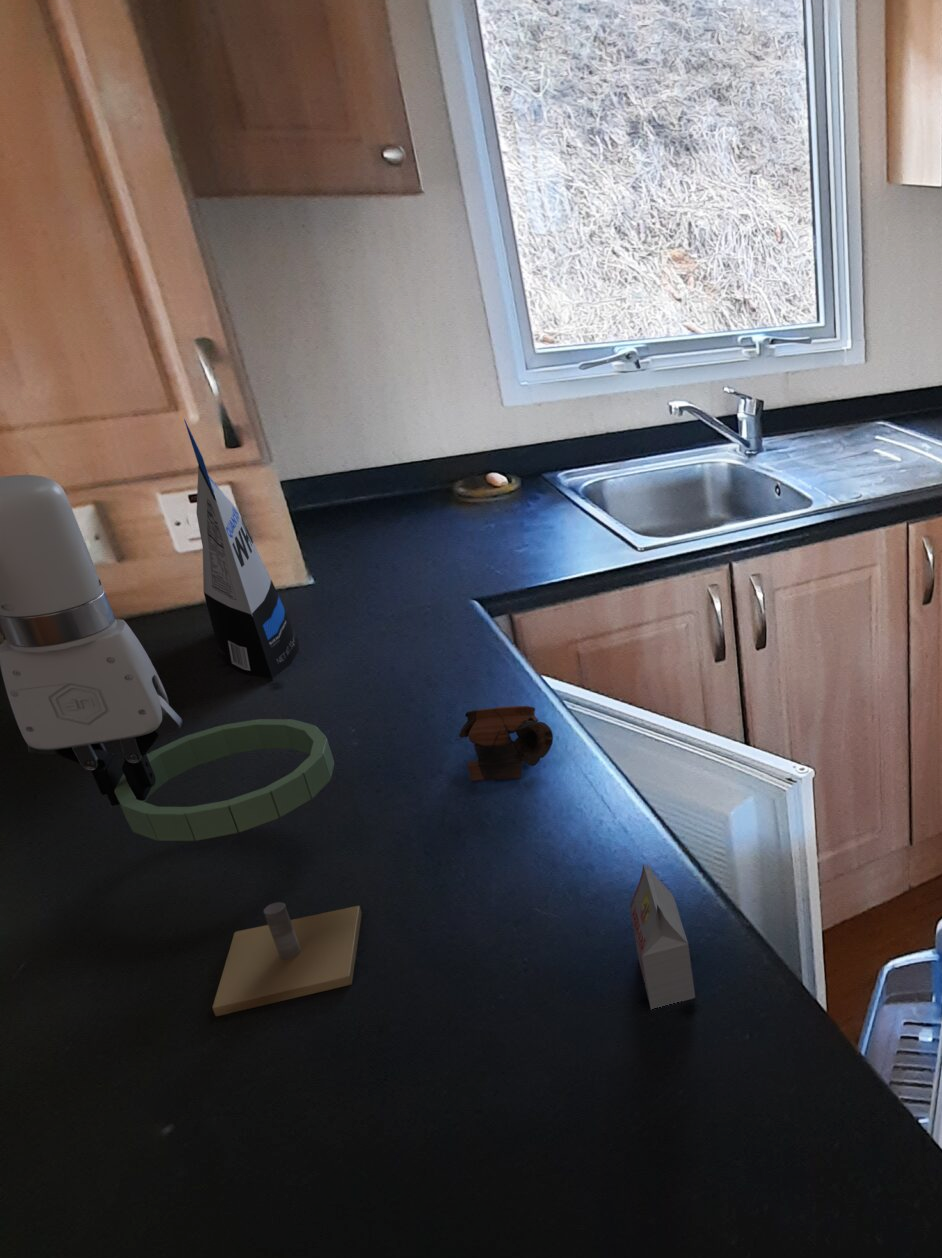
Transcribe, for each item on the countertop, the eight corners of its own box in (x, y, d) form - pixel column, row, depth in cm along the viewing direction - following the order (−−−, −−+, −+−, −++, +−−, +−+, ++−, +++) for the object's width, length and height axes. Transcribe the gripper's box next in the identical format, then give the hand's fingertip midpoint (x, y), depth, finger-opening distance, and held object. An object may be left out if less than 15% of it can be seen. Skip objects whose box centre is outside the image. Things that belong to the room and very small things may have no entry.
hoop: (104, 858, 93) (91, 831, 92) (152, 762, 107) (142, 737, 106) (323, 816, 99) (314, 790, 98) (341, 731, 113) (334, 706, 112)
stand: (215, 1017, 86) (192, 961, 83) (237, 940, 94) (217, 887, 92) (352, 984, 90) (334, 930, 87) (362, 913, 98) (346, 861, 95)
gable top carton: (680, 947, 94) (668, 857, 90) (695, 997, 89) (683, 904, 84) (638, 958, 93) (623, 867, 88) (650, 1010, 87) (635, 916, 83)
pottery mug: (443, 785, 118) (438, 712, 118) (505, 779, 127) (500, 711, 127) (530, 777, 114) (524, 702, 115) (587, 771, 123) (582, 701, 123)
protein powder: (231, 690, 136) (154, 464, 123) (210, 627, 153) (141, 423, 140) (313, 671, 141) (249, 452, 128) (284, 612, 158) (225, 414, 145)
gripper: (-72, 651, 86) (18, 835, 94) (153, 622, 91) (220, 799, 99) (-36, 616, 92) (46, 792, 100) (173, 591, 97) (234, 760, 106)
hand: (132, 794), depth 100 cm, fingers closed on hoop, 1 cm apart
